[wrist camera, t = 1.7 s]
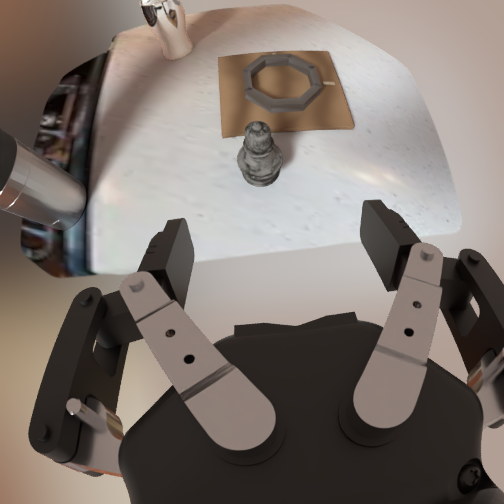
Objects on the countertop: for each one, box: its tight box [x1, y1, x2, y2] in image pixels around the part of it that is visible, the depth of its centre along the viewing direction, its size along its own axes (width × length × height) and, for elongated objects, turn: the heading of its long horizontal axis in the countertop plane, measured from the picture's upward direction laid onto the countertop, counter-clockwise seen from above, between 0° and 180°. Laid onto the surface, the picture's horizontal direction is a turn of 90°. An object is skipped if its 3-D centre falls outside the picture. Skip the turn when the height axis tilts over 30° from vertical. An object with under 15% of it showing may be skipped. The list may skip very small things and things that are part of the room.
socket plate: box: [218, 51, 354, 138], centre depth 39 cm, size 20×18×3 cm
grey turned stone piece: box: [237, 121, 283, 187], centre depth 33 cm, size 6×6×12 cm
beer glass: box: [139, 0, 193, 60], centre depth 36 cm, size 7×7×15 cm
